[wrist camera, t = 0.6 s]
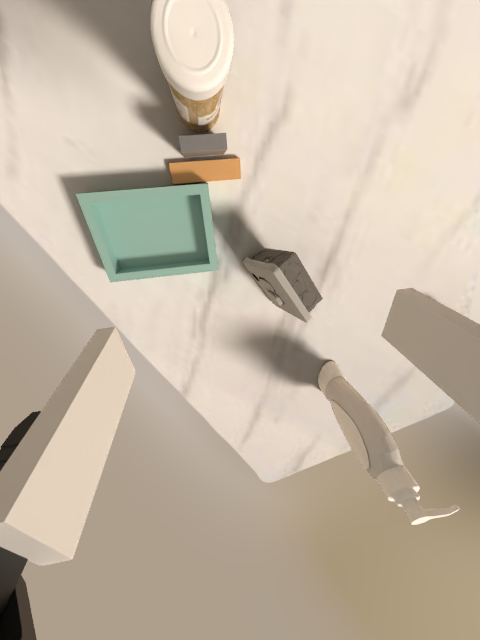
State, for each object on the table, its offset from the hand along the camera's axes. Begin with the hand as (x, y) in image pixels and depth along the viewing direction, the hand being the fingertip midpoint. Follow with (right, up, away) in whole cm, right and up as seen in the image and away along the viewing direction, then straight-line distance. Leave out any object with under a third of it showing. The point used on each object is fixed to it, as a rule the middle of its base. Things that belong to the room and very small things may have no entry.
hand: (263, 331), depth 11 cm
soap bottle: (+19, -11, +38) cm, 44 cm away
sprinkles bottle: (-6, +23, +13) cm, 27 cm away
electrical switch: (+4, +8, +24) cm, 25 cm away
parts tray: (-12, +12, +18) cm, 25 cm away
